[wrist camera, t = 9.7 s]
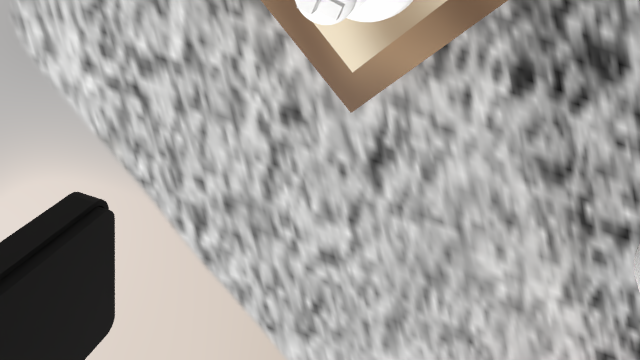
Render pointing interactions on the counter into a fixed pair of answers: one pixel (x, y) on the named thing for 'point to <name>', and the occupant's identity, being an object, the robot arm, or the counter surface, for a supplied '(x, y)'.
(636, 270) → the milk bottle
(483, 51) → the counter surface
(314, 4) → the chess piece
